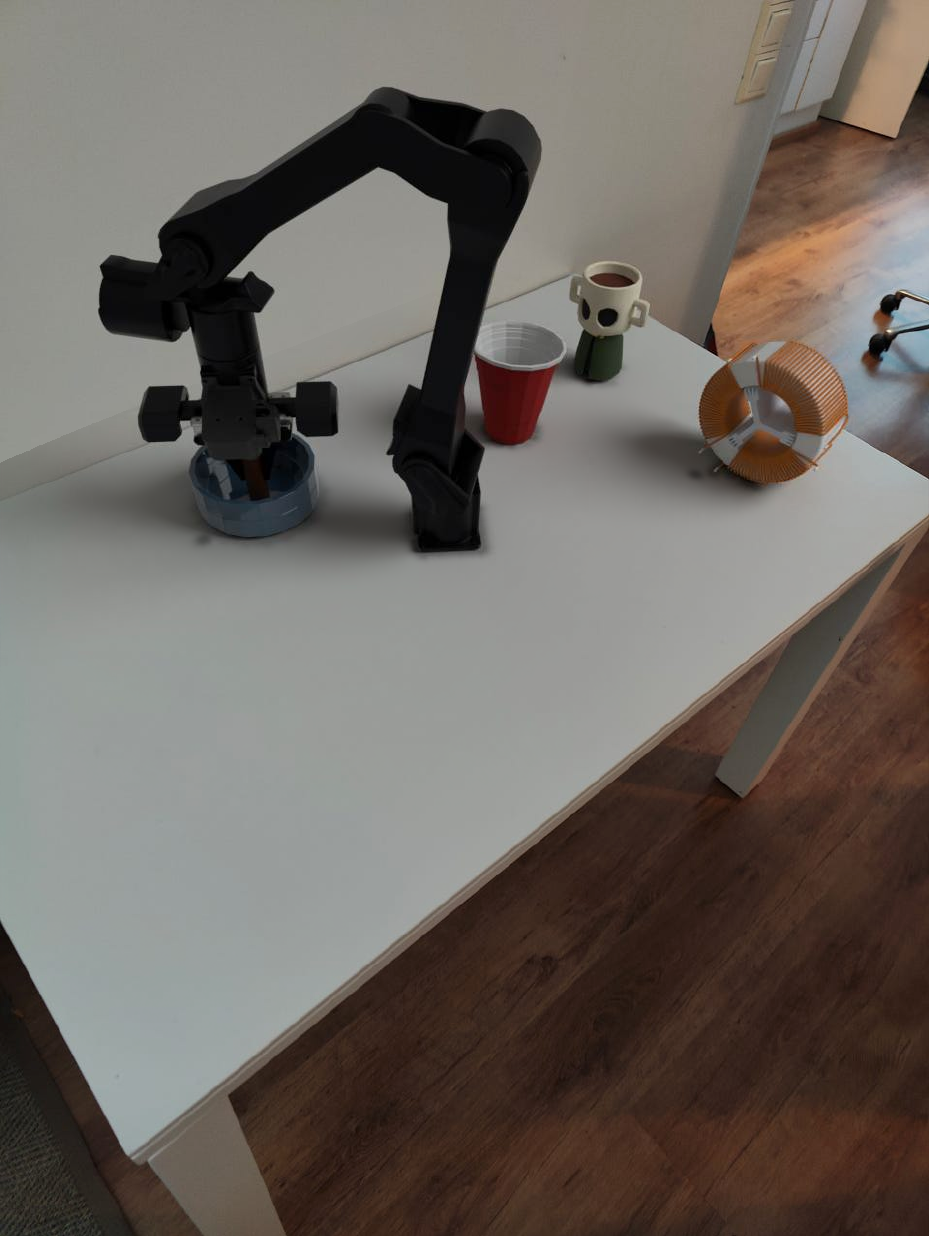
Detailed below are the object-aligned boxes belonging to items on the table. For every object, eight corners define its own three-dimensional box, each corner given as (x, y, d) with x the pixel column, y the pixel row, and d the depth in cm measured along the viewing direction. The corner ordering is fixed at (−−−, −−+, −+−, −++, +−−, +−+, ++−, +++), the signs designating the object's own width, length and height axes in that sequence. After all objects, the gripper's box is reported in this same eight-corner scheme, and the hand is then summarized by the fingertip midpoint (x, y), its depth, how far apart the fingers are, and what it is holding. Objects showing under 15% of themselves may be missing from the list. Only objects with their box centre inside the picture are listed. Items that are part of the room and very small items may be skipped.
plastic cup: (571, 422, 100) (585, 332, 91) (527, 469, 94) (537, 378, 85) (495, 393, 104) (501, 303, 95) (448, 436, 98) (450, 345, 88)
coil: (709, 428, 100) (744, 315, 89) (823, 483, 94) (877, 369, 83) (679, 454, 97) (712, 340, 85) (796, 513, 90) (848, 398, 79)
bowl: (320, 460, 94) (315, 424, 90) (318, 538, 86) (312, 502, 82) (206, 464, 93) (196, 428, 89) (192, 543, 85) (181, 507, 81)
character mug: (546, 367, 108) (558, 271, 98) (575, 344, 112) (589, 249, 102) (619, 398, 104) (638, 301, 94) (646, 373, 108) (667, 277, 98)
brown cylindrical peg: (270, 489, 90) (257, 420, 83) (269, 502, 88) (255, 433, 81) (250, 489, 89) (234, 421, 83) (248, 503, 88) (232, 434, 81)
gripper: (106, 399, 69) (153, 534, 81) (329, 393, 71) (344, 526, 82) (128, 329, 76) (169, 462, 88) (331, 324, 78) (344, 456, 90)
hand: (255, 477), depth 87 cm, fingers closed on brown cylindrical peg, 2 cm apart
